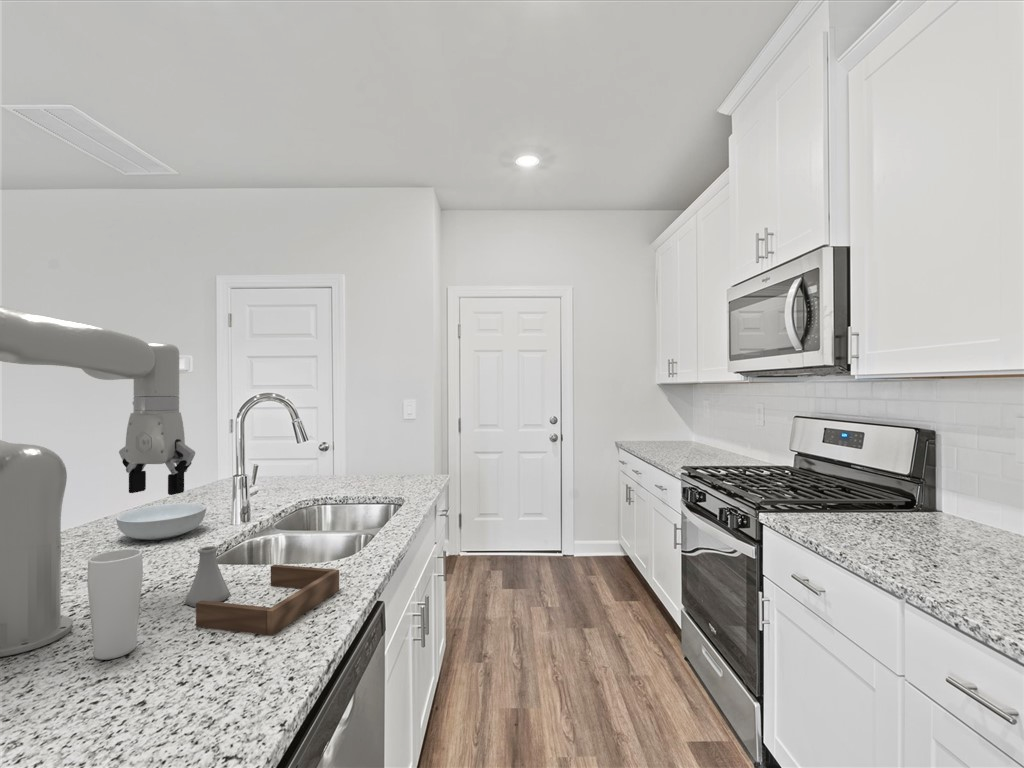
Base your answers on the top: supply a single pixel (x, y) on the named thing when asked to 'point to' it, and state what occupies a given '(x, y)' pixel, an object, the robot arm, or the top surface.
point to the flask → (207, 579)
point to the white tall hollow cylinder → (114, 601)
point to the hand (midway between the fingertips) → (156, 492)
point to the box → (271, 620)
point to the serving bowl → (161, 520)
